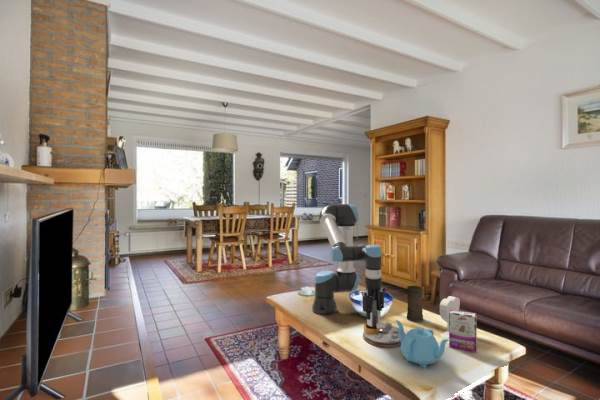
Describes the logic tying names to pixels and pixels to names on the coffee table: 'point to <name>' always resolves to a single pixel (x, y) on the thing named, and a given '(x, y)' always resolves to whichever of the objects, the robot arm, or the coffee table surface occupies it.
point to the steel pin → (374, 314)
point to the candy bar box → (462, 330)
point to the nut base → (381, 344)
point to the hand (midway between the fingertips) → (373, 324)
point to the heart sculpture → (445, 308)
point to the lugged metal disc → (382, 334)
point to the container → (415, 304)
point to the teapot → (420, 346)
